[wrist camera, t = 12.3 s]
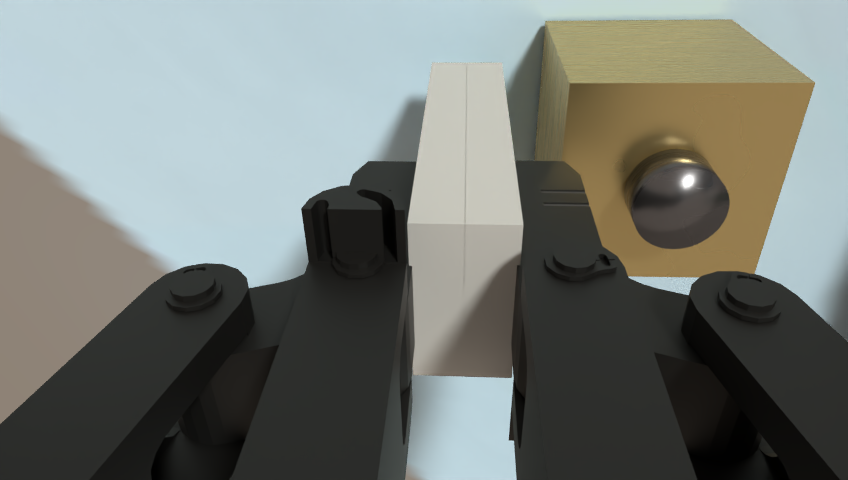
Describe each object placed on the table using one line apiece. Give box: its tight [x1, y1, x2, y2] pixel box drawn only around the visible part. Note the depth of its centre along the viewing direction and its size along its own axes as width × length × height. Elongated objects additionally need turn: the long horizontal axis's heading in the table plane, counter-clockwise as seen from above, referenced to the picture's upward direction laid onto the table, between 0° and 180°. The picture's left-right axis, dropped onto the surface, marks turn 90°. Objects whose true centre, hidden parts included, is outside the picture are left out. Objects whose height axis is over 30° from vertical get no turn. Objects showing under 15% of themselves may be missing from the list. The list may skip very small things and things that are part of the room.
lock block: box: [534, 20, 815, 277], centre depth 13 cm, size 4×4×5 cm
